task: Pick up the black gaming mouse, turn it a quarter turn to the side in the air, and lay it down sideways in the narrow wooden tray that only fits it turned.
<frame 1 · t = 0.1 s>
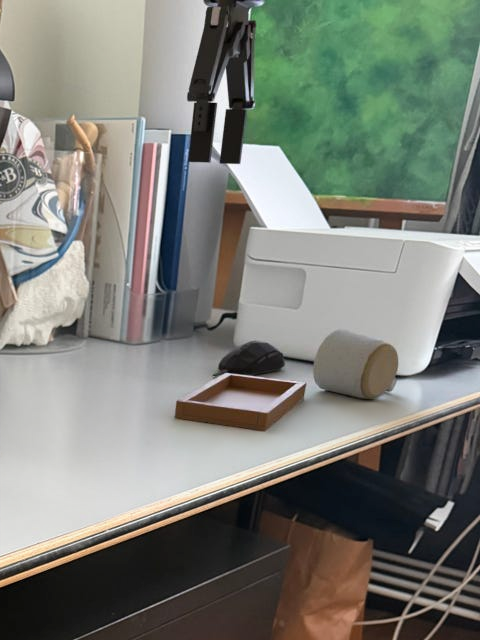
hand: (215, 163, 123), 26 cm above the table, tool pointing down, fingers open, 13 cm apart
gaming mouse: (244, 372, 134), on the table
ceramic mug: (355, 395, 122), on the table
wooden tray: (242, 407, 113), on the table
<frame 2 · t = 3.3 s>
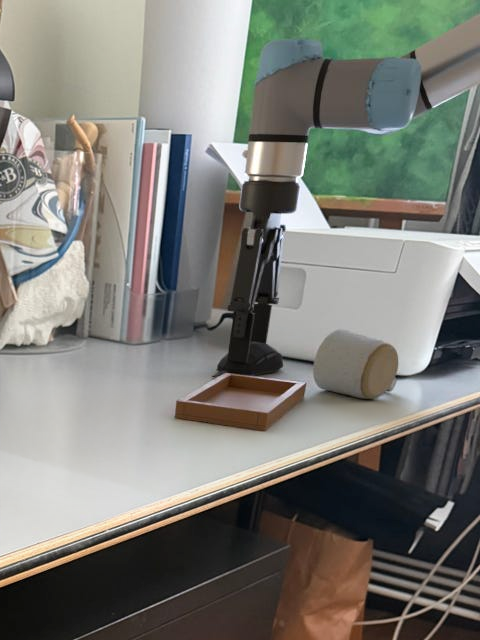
hand: (246, 355, 133), 2 cm above the table, tool pointing down, fingers closed on gaming mouse, 8 cm apart
gaming mouse: (243, 373, 133), on the table, touching gripper
everything else where it was.
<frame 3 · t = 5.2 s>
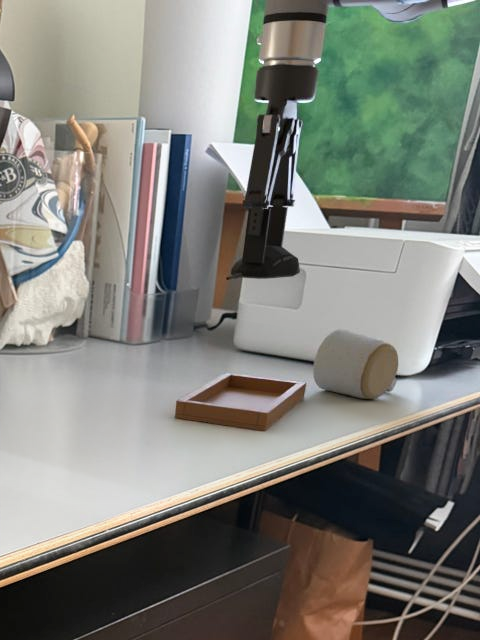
hand: (261, 260, 127), 15 cm above the table, tool pointing down, fingers closed on gaming mouse, 8 cm apart
gaming mouse: (258, 278, 127), point 13 cm above the table, touching gripper
everything else where it was.
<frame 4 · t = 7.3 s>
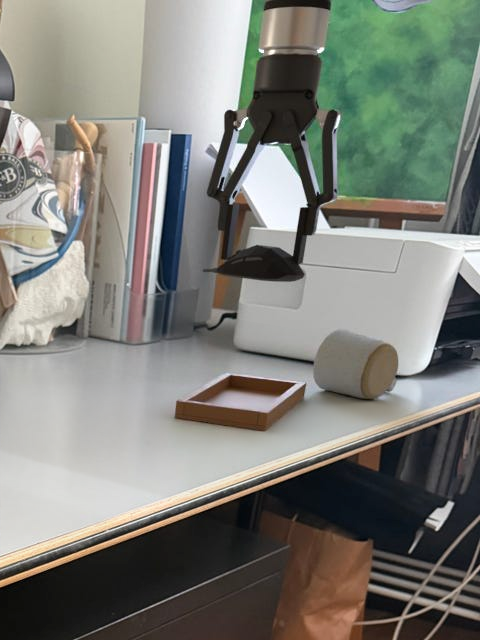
hand: (261, 261, 121), 15 cm above the table, tool pointing down, fingers closed on gaming mouse, 8 cm apart
gaming mouse: (249, 279, 122), point 13 cm above the table, touching gripper
everything else where it was.
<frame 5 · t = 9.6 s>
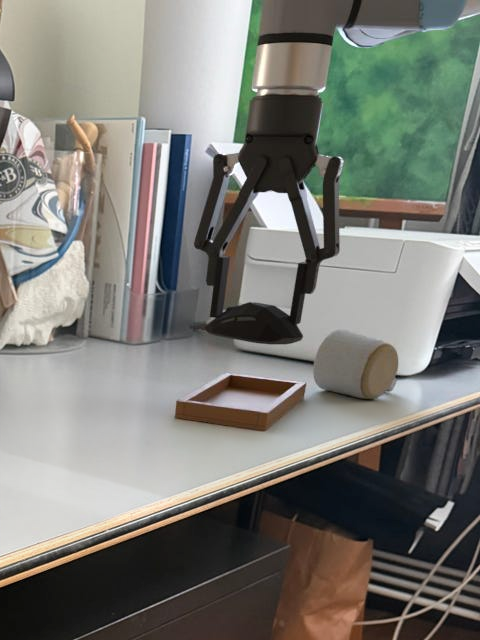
hand: (254, 319, 109), 10 cm above the table, tool pointing down, fingers closed on gaming mouse, 8 cm apart
gaming mouse: (241, 339, 110), point 8 cm above the table, touching gripper
everything else where it was.
when the fingers open (4 cm above the table, at t = 11.4 s): gaming mouse stays where it is, resting on wooden tray.
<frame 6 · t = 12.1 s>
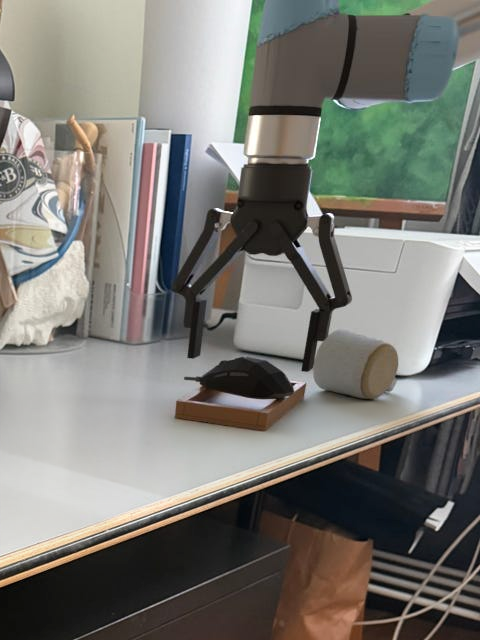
hand: (248, 363, 111), 5 cm above the table, tool pointing down, fingers open, 13 cm apart
gaming mouse: (234, 391, 113), point 2 cm above the table, touching wooden tray
everything else where it was.
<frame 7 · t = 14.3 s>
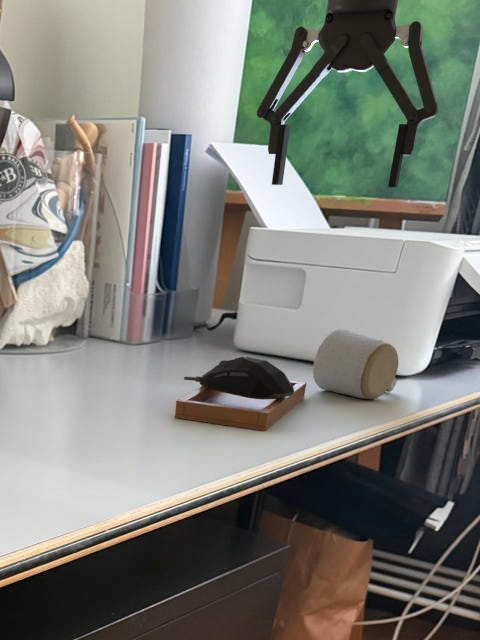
hand: (333, 186, 113), 24 cm above the table, tool pointing down, fingers open, 13 cm apart
nothing on the table moved.
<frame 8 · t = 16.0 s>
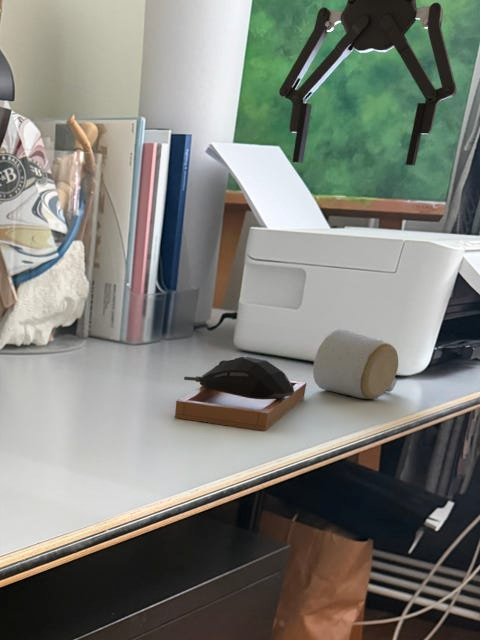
hand: (352, 164, 117), 27 cm above the table, tool pointing down, fingers open, 13 cm apart
nothing on the table moved.
at the end: gaming mouse inside the target area in the wooden tray (1.2 cm from its centre), point 1.8 cm above the wooden tray's base; the gripper is holding nothing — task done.
